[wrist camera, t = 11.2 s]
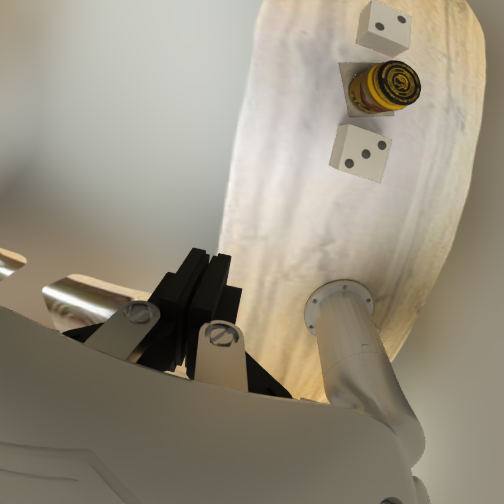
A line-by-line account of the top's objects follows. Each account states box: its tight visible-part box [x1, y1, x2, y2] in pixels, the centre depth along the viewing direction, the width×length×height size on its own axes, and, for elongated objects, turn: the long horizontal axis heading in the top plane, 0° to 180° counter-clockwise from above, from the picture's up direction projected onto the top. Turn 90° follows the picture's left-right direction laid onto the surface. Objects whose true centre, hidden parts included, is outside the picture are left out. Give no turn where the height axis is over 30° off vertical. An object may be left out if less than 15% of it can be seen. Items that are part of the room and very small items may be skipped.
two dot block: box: [356, 0, 412, 58], centre depth 25 cm, size 6×6×6 cm
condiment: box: [338, 60, 421, 117], centre depth 26 cm, size 7×8×12 cm
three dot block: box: [329, 124, 392, 183], centre depth 33 cm, size 6×6×6 cm
